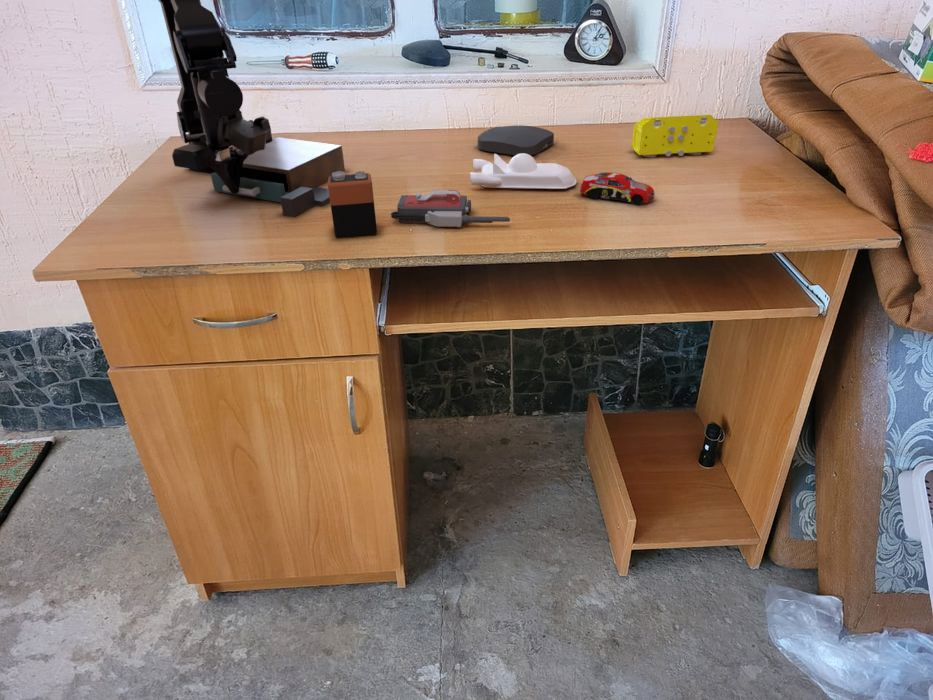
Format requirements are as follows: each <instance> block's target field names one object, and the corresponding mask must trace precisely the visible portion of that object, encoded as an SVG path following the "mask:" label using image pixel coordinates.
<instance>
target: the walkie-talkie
mask: <svg viewBox="0 0 933 700" xmlns="http://www.w3.org/2000/svg"><path fill="white" fill-rule="evenodd" d="M396 207H397V211H393V212H392V211H391V213H390V217H391V219H396V220H397V221H398V222H399V223H402V224H428V225H432V226H434V227H442V228H443V227H445V228H446V227H447V228H448V227H449V228H462V225H463V224H464V225H465V224H468V225H469V224H470V223H471V224H492V223H495V222H498V223H499V222H503V223H504V222H505V223H506V222H509V223H510V220H511V219H510V217H509V216H482V215H481V216H479V215H478V216H470V215H468V214H467V213H471V211H472V199H468V195H462V194H461V193H460V191H458V190H455V189H448V190H446V189H434V190H433V191H431V192H430V193H428V194H422V192H421V191H417V192H416V194H401V196H400V198H399V200H398V202H397V206H396Z"/></svg>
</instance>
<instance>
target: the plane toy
mask: <svg viewBox="0 0 933 700" xmlns="http://www.w3.org/2000/svg"><path fill="white" fill-rule="evenodd" d="M493 157H494V158H493V162H490V161H488V160H485V159H482V158H473V159H472V164H473V165H472V166H473V170H474V172H469V178H470V183H471V186H482V187H483V188H496V189H497V188H498V189H541V190H544V189H547V190H566V189H569V188H571V187H574V186H576V184H577V179H576V177H575V176H574V174H573V173H572V171H570V169H569V168H568V167H566V166H564V165H561V164H559V163H557V162H545V163H543V162H542V163H541V162H540V163H539V162H536V160H535V158H534V157H533V155H529V154H525V153H521V154H517V155H513V157H512V158H511V159H510V160H509V162H506V161H504V160H503V159H502V158H501V156H499V155H498V153H494V154H493Z"/></svg>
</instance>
